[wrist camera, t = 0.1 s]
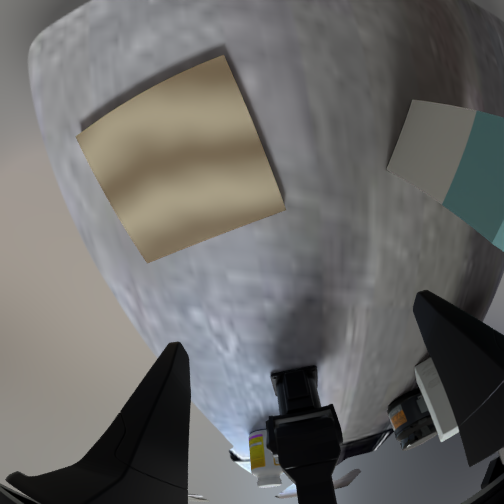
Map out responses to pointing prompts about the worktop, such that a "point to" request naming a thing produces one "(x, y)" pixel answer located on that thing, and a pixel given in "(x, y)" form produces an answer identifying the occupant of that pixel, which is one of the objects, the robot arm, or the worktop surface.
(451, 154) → the cream storage box
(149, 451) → the robot arm
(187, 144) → the oak board
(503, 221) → the aqua cube
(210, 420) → the worktop surface
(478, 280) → the worktop surface
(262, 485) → the supplement bottle
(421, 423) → the supplement container
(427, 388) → the skincare box
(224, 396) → the worktop surface
